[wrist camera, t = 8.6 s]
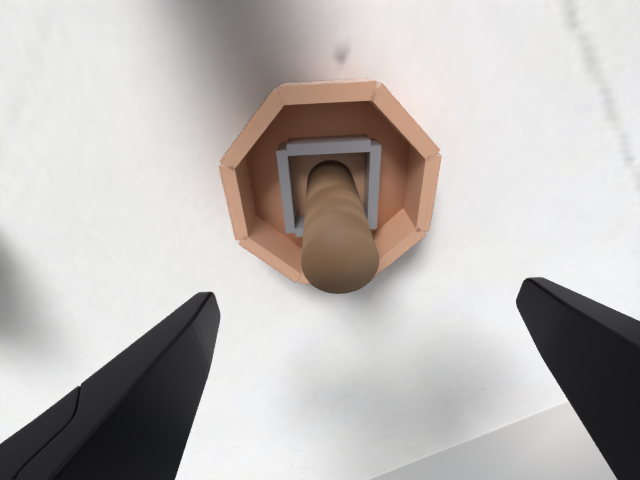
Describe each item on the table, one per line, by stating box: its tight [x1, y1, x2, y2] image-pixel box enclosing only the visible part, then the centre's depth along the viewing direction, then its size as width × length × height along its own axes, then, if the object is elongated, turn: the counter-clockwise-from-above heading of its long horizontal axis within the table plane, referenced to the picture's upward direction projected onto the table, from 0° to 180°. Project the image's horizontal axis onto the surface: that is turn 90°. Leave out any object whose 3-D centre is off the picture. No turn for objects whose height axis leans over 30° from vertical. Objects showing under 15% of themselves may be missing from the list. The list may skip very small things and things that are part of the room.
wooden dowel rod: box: [301, 160, 379, 294], centre depth 15 cm, size 3×3×9 cm
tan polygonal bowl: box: [219, 79, 442, 284], centre depth 18 cm, size 12×12×4 cm
